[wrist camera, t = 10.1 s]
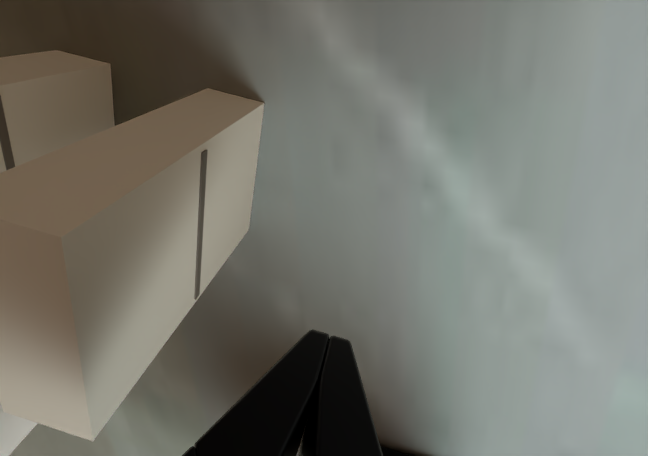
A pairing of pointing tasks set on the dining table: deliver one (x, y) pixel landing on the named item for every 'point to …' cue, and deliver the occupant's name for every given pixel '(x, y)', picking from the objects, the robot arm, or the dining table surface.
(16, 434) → the can
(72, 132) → the domino
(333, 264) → the dining table surface
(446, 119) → the dining table surface
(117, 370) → the domino
